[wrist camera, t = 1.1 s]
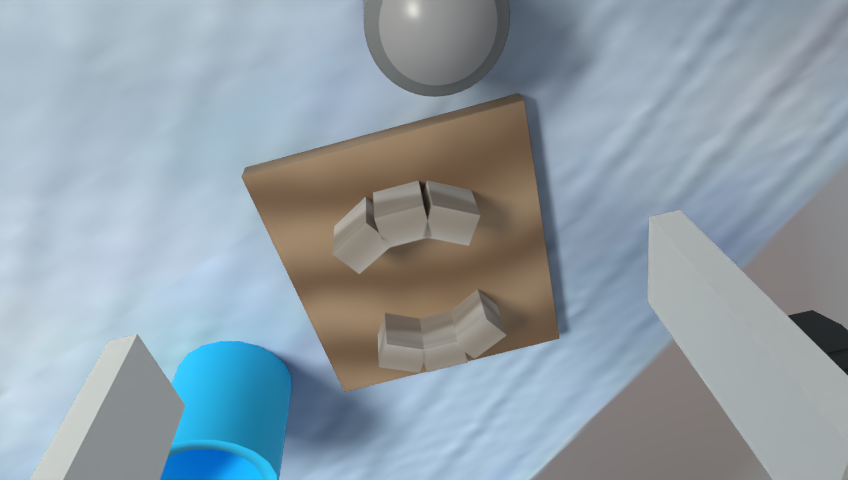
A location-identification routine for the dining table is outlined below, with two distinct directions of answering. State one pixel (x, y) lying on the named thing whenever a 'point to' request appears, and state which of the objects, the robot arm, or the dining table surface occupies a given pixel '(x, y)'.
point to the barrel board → (415, 242)
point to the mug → (230, 414)
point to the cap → (436, 41)
